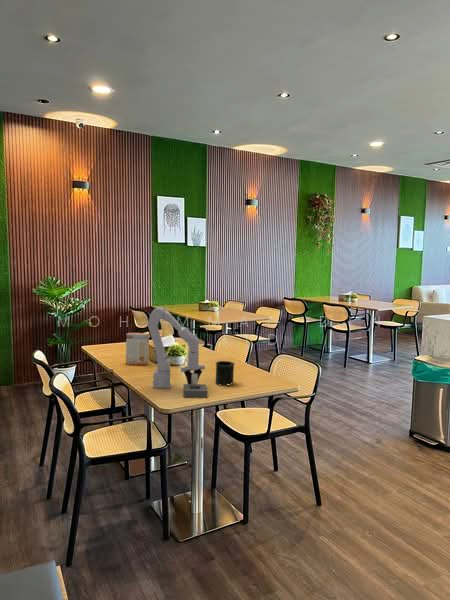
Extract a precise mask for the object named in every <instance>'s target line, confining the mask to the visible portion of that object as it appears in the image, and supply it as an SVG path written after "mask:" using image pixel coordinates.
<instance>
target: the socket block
mask: <svg viewBox="0 0 450 600" xmlns="http://www.w3.org/2000/svg"><path fill="white" fill-rule="evenodd" d="M183 391H184V392H183V398H197V397H207V398H208V388H207V384H204V383H203V384H202V383H201V384H199V383H198V384H188V383H187V384H186V383H183Z"/></svg>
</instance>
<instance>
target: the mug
mask: <svg viewBox="0 0 450 600" xmlns="http://www.w3.org/2000/svg"><path fill="white" fill-rule="evenodd" d="M215 367H216V368H215V384H216V383H217V384H216V385H218V384H221V385H220V386H222V385H227V384H231V383H233V384H234V374H235V372H234V370H235V369H234V367H235V362H232V361H226V360H221V361H217V362H215Z"/></svg>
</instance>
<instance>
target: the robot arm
mask: <svg viewBox="0 0 450 600" xmlns="http://www.w3.org/2000/svg"><path fill="white" fill-rule="evenodd" d="M148 319H149V320H148V322H147V328H148V330H149V335H150V337H151V339H152V340H151V341H152V343H153V346H154V350H155V351H154V352H155V353H156V362H157V363H156V364H157V365H156V366H157V369H156V370H154V369H153V375H152V376H153V377H152V378H153V380H152V388H154V389H170V388H171V387H172V386H171V385H172V383H171V369H170V366H171V365H172V364H171V363H172V361H171V358H169V357H168V354H167V352H166V350H165V347H164V343H163V340H162V336H161V333H160V328H159V327H158V326H159V323H160V321H161V320H162V322H163V321H164V322H167V323H169V324H170V325H171V326H172V327H173V328H174V329H175V330H177V332H178V336H179V337H180V338H181V339H182V340H183V341H184V342H185V343H187V346H188V351H187V352H188V353H187V354H188V355H187V366H184V367H180V372H181V373H184V375H185V378H186V382H187V384H191V375H192V372H191V371H193V372H195V373H197V374H198V380H199V379H200V376H201V374H202V373H203V370H205V369H206V366H205V365H203V364H201V365H199V355H200V353H199V352H200V351H199V346H200V339H199V338H198V337H197V336H196V335H195V334H193V332H192V331H190V328H189V327H186V326H182V325H181V324H180V322H178V321H177V319H176V318H175V317H174V316H173V315H172V314H171V313H170V311H168V310H167V309H165V308H164V307H163V306H157V307H156V308H154V309H153V310H152V311H151V313H150V314H149V317H148Z"/></svg>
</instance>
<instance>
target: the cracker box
mask: <svg viewBox="0 0 450 600" xmlns="http://www.w3.org/2000/svg"><path fill="white" fill-rule="evenodd" d="M125 338H126V339H125V341H126V342H125V365H127V366H144V367H147V366H148V365H149V361H150V360H149V358H150V332H149V333H146V332H145V333H144V332H128V333H127V332H126V337H125Z"/></svg>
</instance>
